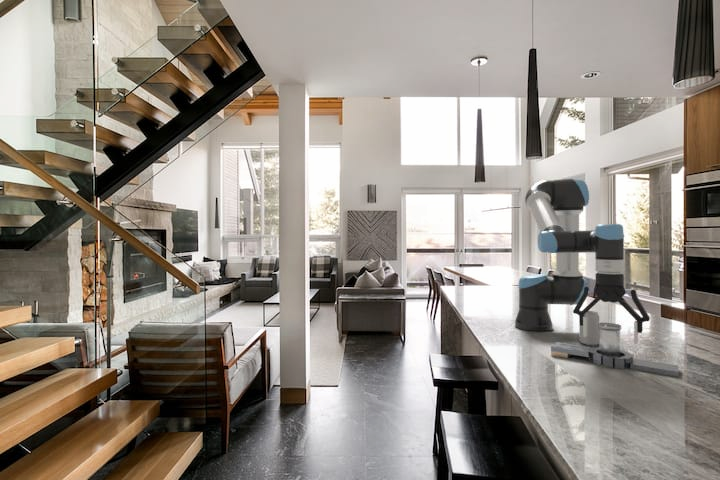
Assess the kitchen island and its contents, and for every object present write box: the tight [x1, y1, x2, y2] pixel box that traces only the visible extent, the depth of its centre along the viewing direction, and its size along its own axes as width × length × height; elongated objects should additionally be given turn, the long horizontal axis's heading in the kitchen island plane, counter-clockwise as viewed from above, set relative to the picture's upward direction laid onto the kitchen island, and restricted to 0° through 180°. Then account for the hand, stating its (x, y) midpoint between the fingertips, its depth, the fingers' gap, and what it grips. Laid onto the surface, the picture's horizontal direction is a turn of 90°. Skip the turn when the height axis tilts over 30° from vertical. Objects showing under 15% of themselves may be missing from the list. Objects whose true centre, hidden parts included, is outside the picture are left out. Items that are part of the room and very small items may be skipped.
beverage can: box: [579, 310, 600, 346], centre depth 142 cm, size 6×6×12 cm
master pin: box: [598, 322, 622, 357], centre depth 121 cm, size 6×6×12 cm
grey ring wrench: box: [550, 341, 679, 378], centre depth 121 cm, size 33×12×3 cm, turn 50°
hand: (609, 339), depth 121 cm, fingers open, 13 cm apart
